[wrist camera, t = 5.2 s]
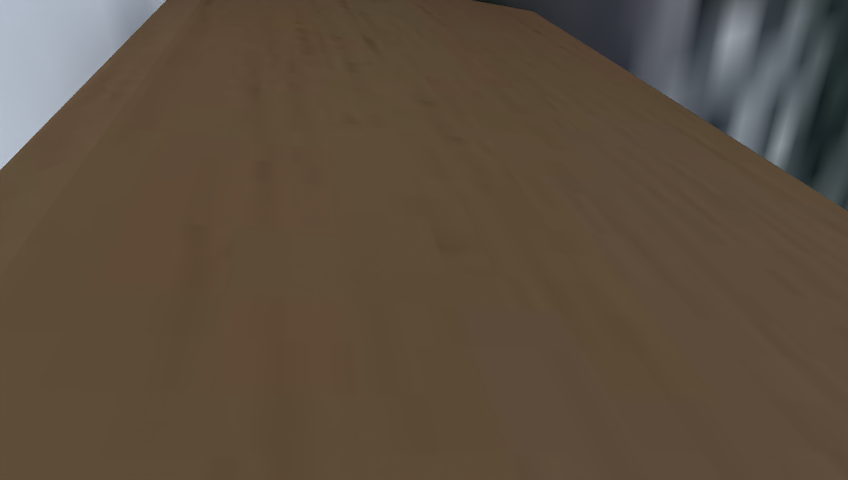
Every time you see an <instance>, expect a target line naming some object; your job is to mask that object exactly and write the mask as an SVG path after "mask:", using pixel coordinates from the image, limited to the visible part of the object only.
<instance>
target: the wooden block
mask: <svg viewBox="0 0 848 480" xmlns="http://www.w3.org/2000/svg"><path fill="white" fill-rule="evenodd" d="M0 480H848V211H847V210H845V209H843V208H842V207H840V206H839V205H837V204H836V203H834V202H832V201H831V200H829V199H828V198H826V197H825V196H823V195H821V194H820V193H818V192H817V191H815V190H814V189H812V188H810V187H809V186H807V185H806V184H804V183H802V182H801V181H799V180H798V179H796V178H795V177H793V176H791V175H790V174H788V173H787V172H785V171H784V170H782V169H780V168H779V167H777V166H776V165H774V164H773V163H771V162H769V161H768V160H766V159H765V158H763V157H762V156H760V155H758V154H757V153H755V152H754V151H752V150H751V149H749V148H747V147H746V146H744V145H743V144H741V143H740V142H738V141H736V140H735V139H733V138H732V137H730V136H729V135H727V134H725V133H724V132H722V131H721V130H719V129H718V128H716V127H714V126H713V125H711V124H710V123H708V122H707V121H705V120H703V119H702V118H700V117H699V116H697V115H696V114H694V113H692V112H691V111H689V110H688V109H686V108H685V107H683V106H681V105H680V104H678V103H677V102H675V101H674V100H672V99H670V98H669V97H667V96H666V95H664V94H663V93H661V92H659V91H658V90H656V89H655V88H653V87H652V86H650V85H648V84H647V83H645V82H644V81H642V80H641V79H639V78H637V77H636V76H634V75H633V74H631V73H630V72H628V71H626V70H625V69H623V68H622V67H620V66H619V65H617V64H615V63H614V62H612V61H611V60H609V59H608V58H606V57H604V56H603V55H601V54H600V53H598V52H596V51H595V50H593V49H592V48H590V47H589V46H587V45H585V44H584V43H582V42H581V41H579V40H578V39H576V38H574V37H573V36H571V35H570V34H568V33H567V32H565V31H563V30H562V29H560V28H559V27H557V26H556V25H554V24H552V23H551V22H549V21H548V20H546V19H545V18H543V17H541V16H540V15H538V14H537V13H535V12H534V11H528V10H523V9H517V8H512V7H506V6H501V5H495V4H490V3H484V2H479V1H473V0H166V2H165V3H164V4H163V5H162V6H161V7H160V8H159V9H158V10H157V11H156V12H155V13H154V14H153V15H152V16H151V17H150V18H149V19H148V20H147V21H146V22H145V23H144V24H143V25H142V26H141V27H140V28H139V29H138V30H137V31H136V32H135V33H134V34H133V35H132V36H131V37H130V38H129V39H128V40H127V41H126V42H125V43H124V44H123V45H122V46H121V48H120V49H119V50H118V51H117V52H116V53H115V54H114V55H113V56H112V57H111V58H110V59H109V60H108V61H107V62H106V63H105V64H104V65H103V66H102V67H101V68H100V69H99V70H98V71H97V72H96V73H95V74H94V75H93V76H92V77H91V78H90V79H89V80H88V81H87V82H86V83H85V84H84V85H83V86H82V87H81V88H80V89H79V90H78V91H77V92H76V94H75V95H74V96H73V97H72V98H71V99H70V100H69V101H68V102H67V103H66V104H65V105H64V106H63V107H62V108H61V109H60V110H59V111H58V112H57V113H56V114H55V115H54V116H53V117H52V118H51V119H50V120H49V121H48V122H47V123H46V124H45V125H44V126H43V127H42V128H41V129H40V130H39V131H38V132H37V133H36V134H35V135H34V136H33V137H32V138H31V140H30V141H29V142H28V143H27V144H26V145H25V146H24V147H23V148H22V149H21V150H20V151H19V152H18V153H17V154H16V155H15V156H14V157H13V158H12V159H11V160H10V161H9V162H8V163H7V164H6V165H5V166H4V167H3V168H2V169H1V170H0Z"/></svg>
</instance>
